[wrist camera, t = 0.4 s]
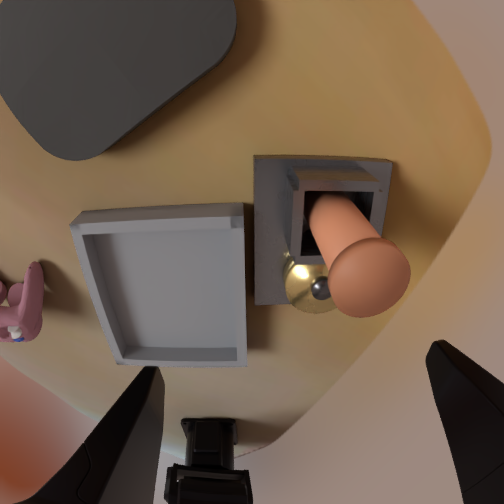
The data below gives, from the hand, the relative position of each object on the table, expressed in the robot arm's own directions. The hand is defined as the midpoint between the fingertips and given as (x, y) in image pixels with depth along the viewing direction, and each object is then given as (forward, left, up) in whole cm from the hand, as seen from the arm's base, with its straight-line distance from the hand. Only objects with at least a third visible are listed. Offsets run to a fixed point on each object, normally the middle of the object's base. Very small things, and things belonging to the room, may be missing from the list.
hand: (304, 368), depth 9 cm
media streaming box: (+13, +10, -14) cm, 22 cm away
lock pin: (0, -4, -13) cm, 13 cm away
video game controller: (-6, +23, -14) cm, 28 cm away
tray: (-7, +7, -14) cm, 17 cm away
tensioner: (-2, -4, -14) cm, 14 cm away
